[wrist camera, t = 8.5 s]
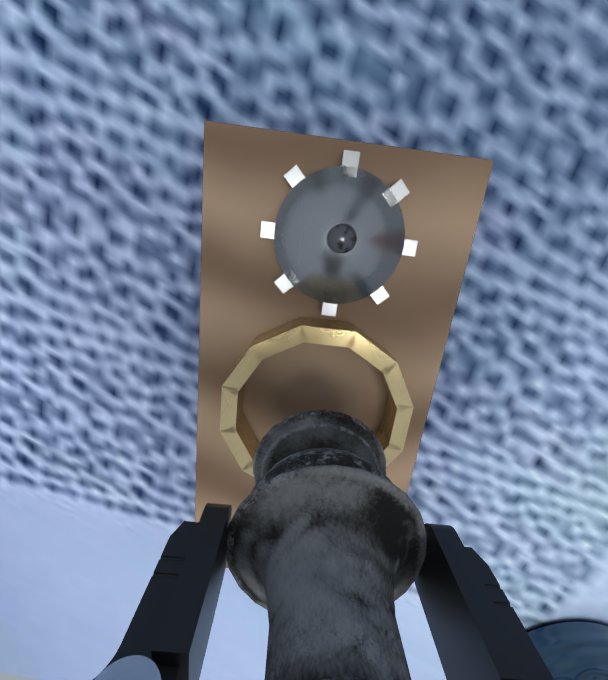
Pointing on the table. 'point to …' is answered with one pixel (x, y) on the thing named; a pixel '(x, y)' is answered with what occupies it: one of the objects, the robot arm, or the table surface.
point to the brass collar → (323, 333)
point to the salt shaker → (327, 550)
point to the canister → (573, 650)
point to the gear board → (278, 309)
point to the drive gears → (339, 234)
